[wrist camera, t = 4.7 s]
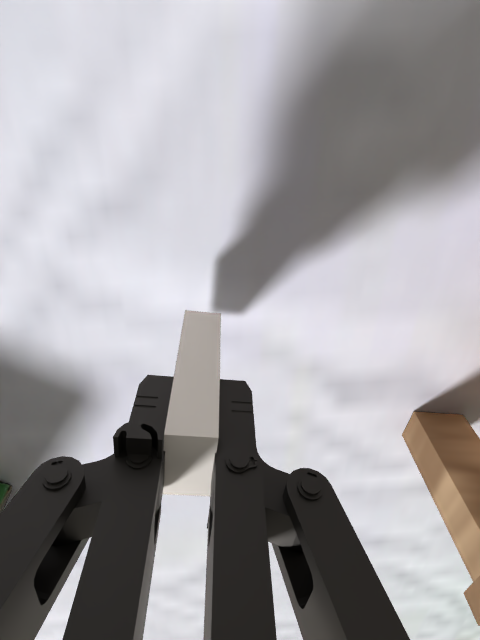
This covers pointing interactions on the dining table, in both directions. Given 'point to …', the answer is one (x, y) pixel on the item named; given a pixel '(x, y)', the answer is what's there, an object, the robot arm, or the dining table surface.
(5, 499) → the chalk box
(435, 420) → the bridge
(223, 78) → the dining table surface
